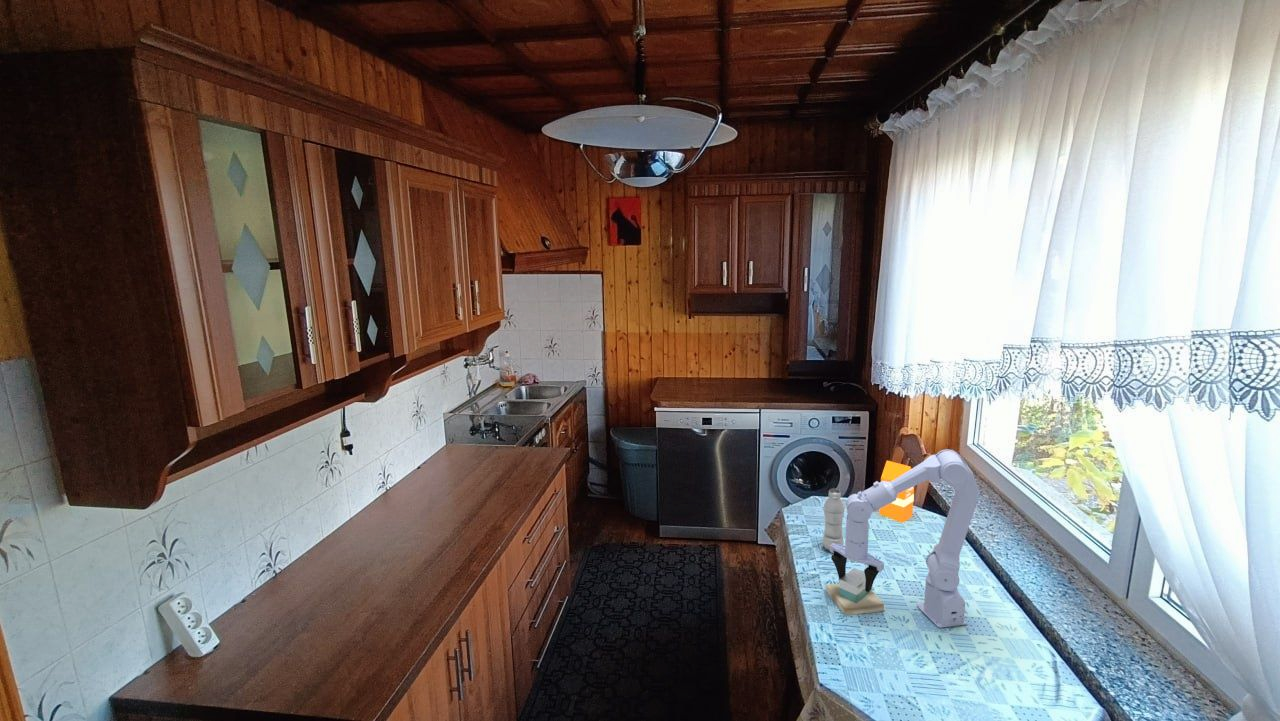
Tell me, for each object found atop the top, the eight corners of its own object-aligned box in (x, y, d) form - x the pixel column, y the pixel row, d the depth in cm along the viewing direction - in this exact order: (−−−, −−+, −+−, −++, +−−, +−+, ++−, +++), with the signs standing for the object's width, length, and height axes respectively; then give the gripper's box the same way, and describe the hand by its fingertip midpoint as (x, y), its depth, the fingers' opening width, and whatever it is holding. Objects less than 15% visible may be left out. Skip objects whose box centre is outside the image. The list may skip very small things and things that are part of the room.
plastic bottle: (820, 551, 179) (822, 493, 176) (824, 542, 185) (826, 485, 182) (841, 556, 176) (843, 497, 173) (844, 546, 182) (846, 488, 179)
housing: (856, 603, 149) (857, 586, 148) (839, 595, 153) (839, 579, 152) (870, 591, 154) (871, 575, 153) (853, 584, 158) (854, 567, 157)
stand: (883, 610, 149) (884, 604, 148) (844, 615, 147) (845, 608, 147) (862, 587, 160) (862, 580, 159) (826, 591, 158) (826, 584, 158)
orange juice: (888, 508, 208) (891, 457, 204) (912, 516, 201) (916, 463, 198) (878, 514, 203) (881, 463, 199) (902, 523, 196) (905, 469, 193)
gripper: (890, 542, 147) (887, 589, 150) (839, 524, 158) (837, 568, 161) (877, 552, 143) (875, 600, 145) (826, 533, 153) (825, 578, 156)
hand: (855, 584), depth 153 cm, fingers open, 7 cm apart
